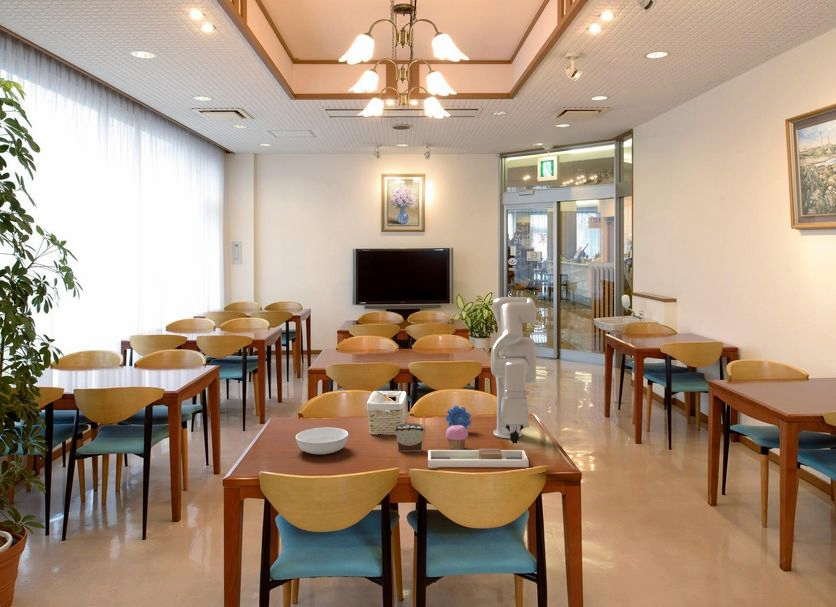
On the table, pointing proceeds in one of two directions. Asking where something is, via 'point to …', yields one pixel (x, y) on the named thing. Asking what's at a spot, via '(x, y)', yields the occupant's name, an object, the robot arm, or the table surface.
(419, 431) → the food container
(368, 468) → the table surface
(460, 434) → the cupcake
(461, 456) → the white tray
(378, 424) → the storage basket
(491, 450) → the walnut block
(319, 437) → the serving bowl
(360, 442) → the table surface
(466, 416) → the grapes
